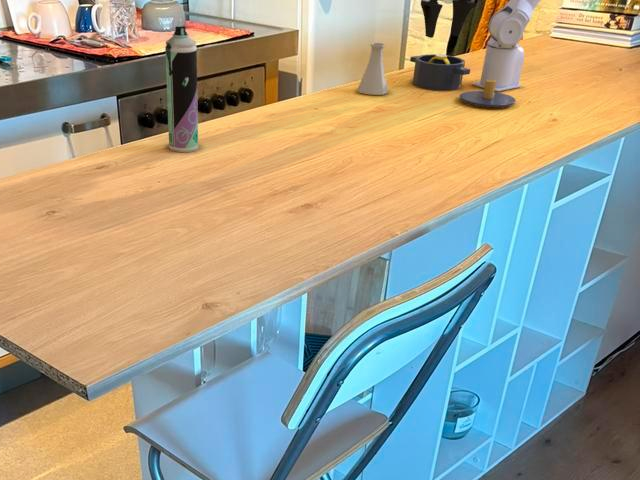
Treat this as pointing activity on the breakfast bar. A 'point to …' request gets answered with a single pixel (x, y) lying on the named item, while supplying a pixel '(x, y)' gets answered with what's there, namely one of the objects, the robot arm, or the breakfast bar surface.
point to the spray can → (182, 91)
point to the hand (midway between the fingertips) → (441, 36)
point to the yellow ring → (440, 58)
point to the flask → (374, 73)
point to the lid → (487, 97)
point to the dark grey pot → (438, 73)
